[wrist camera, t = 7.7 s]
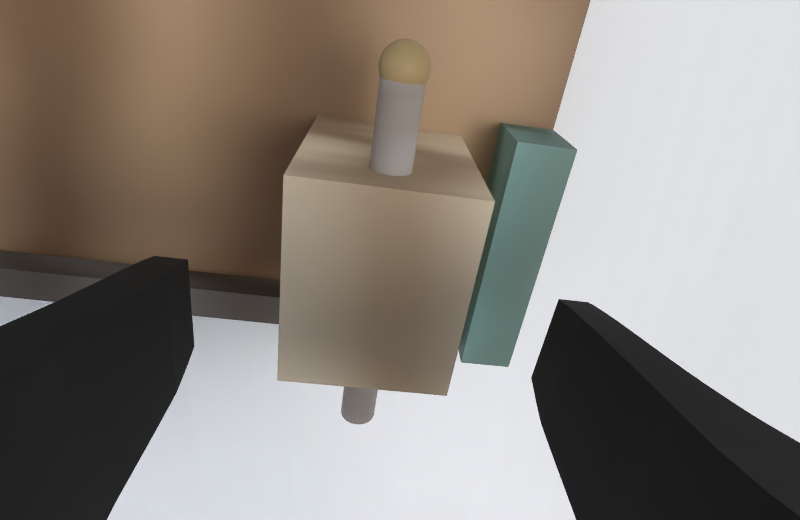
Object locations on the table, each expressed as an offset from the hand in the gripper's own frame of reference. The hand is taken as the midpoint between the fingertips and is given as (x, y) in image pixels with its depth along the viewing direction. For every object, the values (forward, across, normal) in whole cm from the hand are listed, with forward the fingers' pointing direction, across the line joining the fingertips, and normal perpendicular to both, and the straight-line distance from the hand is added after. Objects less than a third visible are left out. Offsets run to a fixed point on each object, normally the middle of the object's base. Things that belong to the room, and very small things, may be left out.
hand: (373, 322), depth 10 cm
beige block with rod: (+6, 0, 0) cm, 6 cm away
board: (+7, +3, -2) cm, 8 cm away
